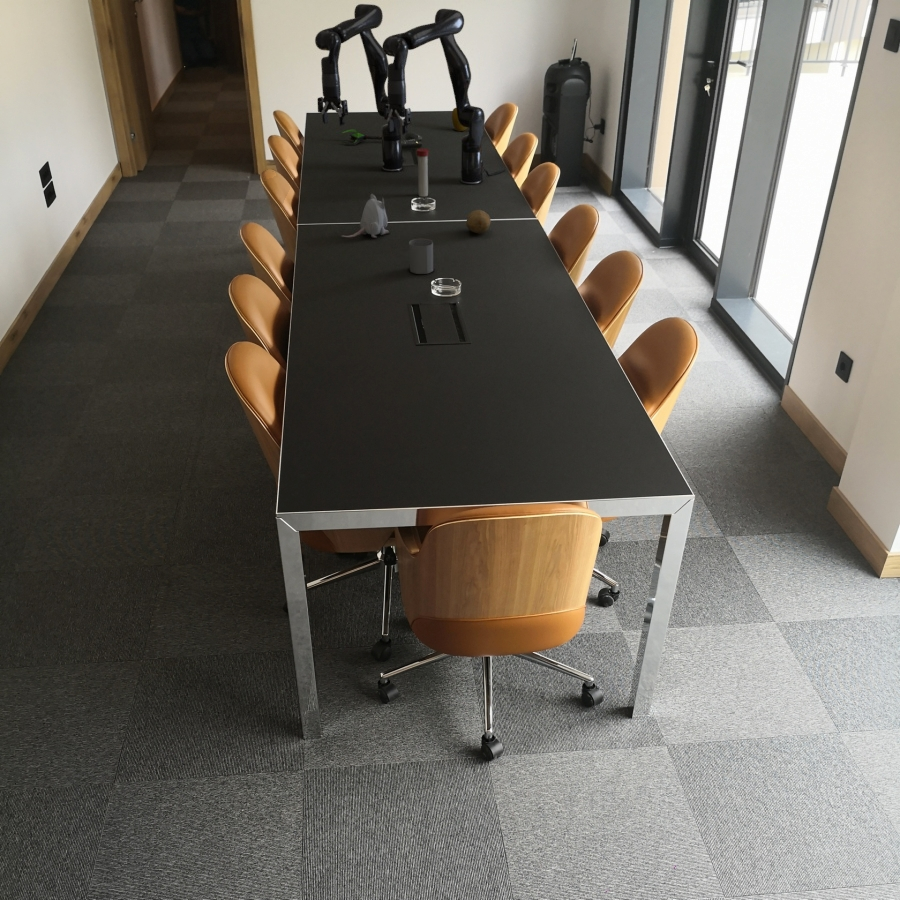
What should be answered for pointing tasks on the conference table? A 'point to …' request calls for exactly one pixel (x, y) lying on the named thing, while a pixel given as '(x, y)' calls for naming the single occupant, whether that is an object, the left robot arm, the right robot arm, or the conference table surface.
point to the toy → (373, 218)
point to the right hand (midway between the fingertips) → (398, 132)
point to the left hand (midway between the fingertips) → (333, 124)
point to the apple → (457, 121)
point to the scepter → (359, 137)
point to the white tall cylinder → (423, 176)
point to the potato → (478, 221)
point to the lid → (422, 152)
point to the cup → (421, 256)
